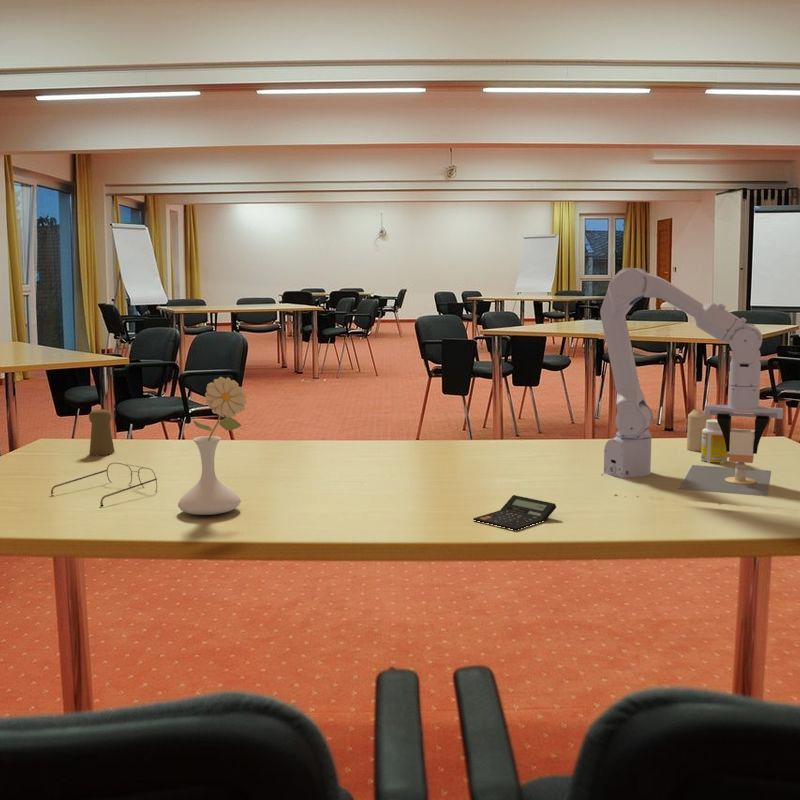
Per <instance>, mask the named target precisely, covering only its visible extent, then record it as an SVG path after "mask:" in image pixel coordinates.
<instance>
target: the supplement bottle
mask: <svg viewBox="0 0 800 800" xmlns="http://www.w3.org/2000/svg"><path fill="white" fill-rule="evenodd" d="M706 427H707V428H704V429H703V430H702V447H701V451H700V452H701V453H700V458H701V459H700V461H701V462H702V463H708V464H726V463H728V452H726V445H725V440H724V436H723V433H722V431H721V428H720V426H719V424H718V421H717V418H716V419H715V418H714V419H713V418H712V419H709V420H706Z"/></svg>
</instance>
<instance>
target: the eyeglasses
mask: <svg viewBox="0 0 800 800" xmlns="http://www.w3.org/2000/svg"><path fill="white" fill-rule="evenodd" d="M113 464H118V465H123V466H126V467H128V469H129V470H130V482H129V483H128V484H130V485H131V484H132V481H133V472H135V473H137V477H138V480H139V484H138V483H137V484H136V485H132V486H130V487H127V488H124V489H120V490H117V491H115V492H111V493H108V494H106V495H103V496H102V498H101V499H100V501H99V502H100V506H101V505H103V506H104V504H103V501H104V499H105V498H108V497H110V496H115V495H116V494H120V493H122V492H125V491H128V490H131V489H134V488H136V487H137V488H138V487H140V486H142V488H144V487H145V486H144V485H146V484H148V483H151V482H154V481H155V484H156V488H155V492H157V490H158V480H157V479H158V478H157V476H156V473H155V472H154V469H152V468H150V467H143V466H141V467H140V466H138V465H133V464H128V463H127V464H125V463H121V462H111V463H109V464H108V465H107V467H106V469H105V470H104V469H103V470H101V471H98V472H94V473H91V474H89V475H85V476H82V477H79V478H76V479H72V480H68V481H65V482H61V483H58V484H55V485H54V486H52V487H51V490H50V495H52V494H54V490H55V488H57V487H61V486H64V485H67V484H71V483H74V482H77V481H80V480H83V479H86V478H89V477H92V476H95V475H98V474H103V473H105V472H106V476H107V479H108V481H109V483H111V482H112V481H111V479H110V477H109V471H108V470H109V466H111V465H113ZM130 466H131V467H137V468H138V470H132V469H131V467H130ZM141 469H147V470H150V471H152V473H153V476H154V479H150V480H148V481H144V482H142V481H141V477H140V470H141Z"/></svg>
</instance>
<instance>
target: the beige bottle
mask: <svg viewBox="0 0 800 800" xmlns="http://www.w3.org/2000/svg"><path fill="white" fill-rule="evenodd" d="M712 417H713V415H705V409H704V410H701V409H696V408H694V409H692V411H690V413H688V414H687V428H686V429H687V434H686V449H687V450H688V451H692V452H701V447H702V430H703V429H704V428H707V427H706V420H709V419H713V418H712Z"/></svg>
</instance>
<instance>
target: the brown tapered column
mask: <svg viewBox="0 0 800 800" xmlns="http://www.w3.org/2000/svg"><path fill="white" fill-rule="evenodd" d="M88 419H89V422H90V423H91V428H90V429H91V431H90V441H89V444H90V445H89V453H88V454H89V455H90V454H91V455H90V456H92V455H105V456H109V455H108V454H111V455H113V454H112V453H114V452H115V453H116V451H115V447H114V442H113V436H112V432H111V425H110V422H111V421H112V415H111V412H110V411H109V410H107V409H101V408H100V409H95V410H92V411H90V413H89V415H88ZM115 453H114V454H115Z"/></svg>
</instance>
